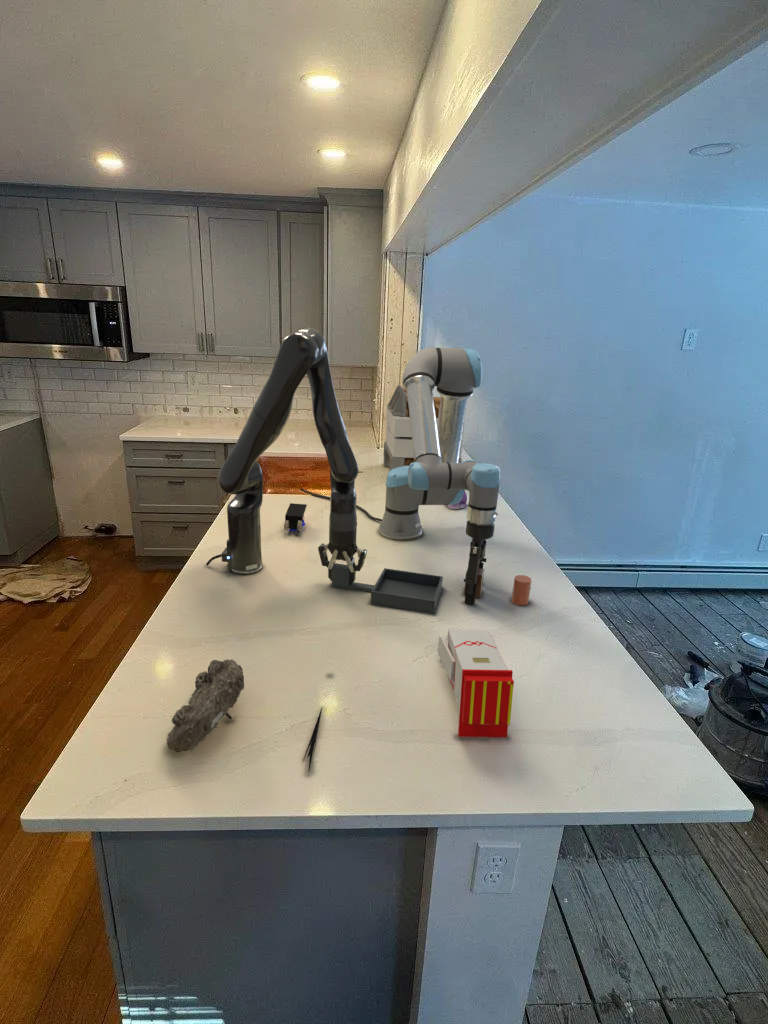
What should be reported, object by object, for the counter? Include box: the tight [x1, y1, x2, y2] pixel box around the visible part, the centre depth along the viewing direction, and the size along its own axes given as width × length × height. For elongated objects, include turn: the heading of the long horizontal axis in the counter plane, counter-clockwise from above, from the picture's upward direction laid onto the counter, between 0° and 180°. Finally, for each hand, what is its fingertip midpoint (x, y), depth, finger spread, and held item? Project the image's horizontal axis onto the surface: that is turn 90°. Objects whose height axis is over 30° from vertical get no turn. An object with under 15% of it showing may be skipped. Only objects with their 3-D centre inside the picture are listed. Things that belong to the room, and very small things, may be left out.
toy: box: [437, 628, 515, 738], centre depth 117 cm, size 12×13×30 cm
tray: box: [331, 562, 444, 614], centre depth 158 cm, size 30×15×6 cm, turn 77°
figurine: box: [447, 490, 468, 510], centre depth 228 cm, size 9×10×15 cm
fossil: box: [166, 658, 245, 754], centre depth 106 cm, size 22×10×15 cm
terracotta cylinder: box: [511, 574, 533, 606], centre depth 156 cm, size 5×5×7 cm
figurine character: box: [283, 502, 308, 536], centre depth 198 cm, size 7×8×15 cm
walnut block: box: [463, 568, 485, 599], centre depth 159 cm, size 4×4×7 cm
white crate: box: [383, 384, 465, 471], centre depth 268 cm, size 34×33×41 cm
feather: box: [301, 673, 332, 771], centre depth 108 cm, size 2×28×2 cm
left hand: (341, 580), depth 161 cm, fingers closed on tray, 5 cm apart
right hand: (473, 592), depth 160 cm, fingers open, 12 cm apart
